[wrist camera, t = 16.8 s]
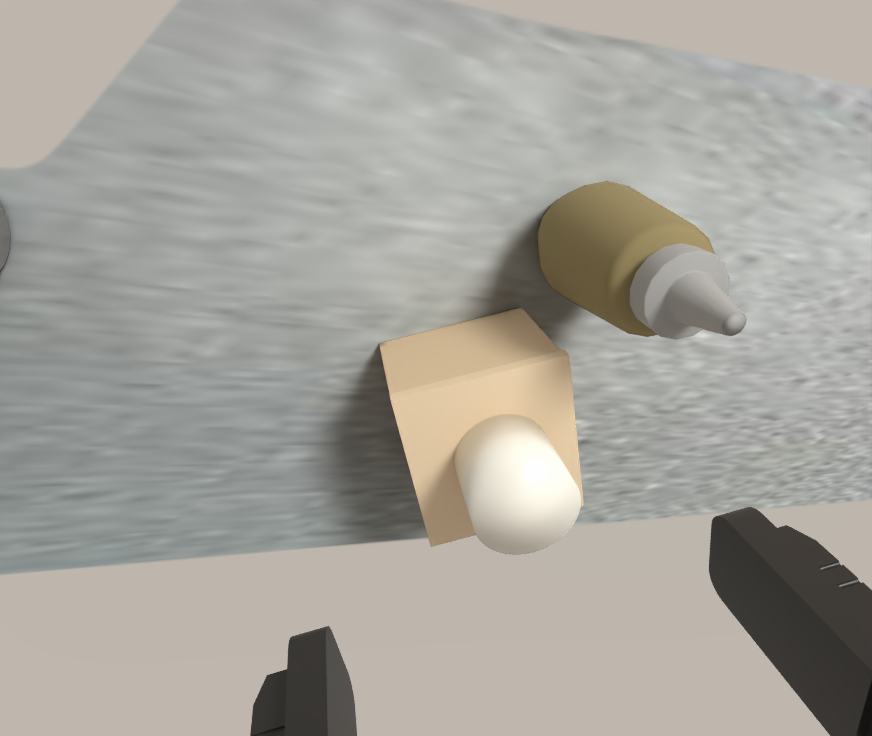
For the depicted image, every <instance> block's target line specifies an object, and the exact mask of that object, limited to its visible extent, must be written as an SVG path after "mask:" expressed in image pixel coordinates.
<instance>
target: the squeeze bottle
mask: <svg viewBox="0 0 872 736" xmlns="http://www.w3.org/2000/svg"><path fill="white" fill-rule="evenodd" d="M538 247H539V258H540V268H541V270H542V272H543V274H544V276H545V278H546V280H547V281H548V283H549V285H550V287H551V288H553V289H554V290H555V291H557V292H558V293H560V294H561V295H562V296H564V297H565V298H566V299H568V300H570V301H572V302H573V303H575V304H577V305H579V306H580V307H582V308H584V309H586V310H588V311H589V312H591V313H593V314H595V315H596V316H598V317H600V318H602V319H604V320H605V321H607V322H609V323H611V324H612V325H614V326H616V327H618V328H620V329H621V330H623V331H625V332H627V333H629V334H635V335H640V336H646V337H649V336H654V335H659V336H661V337H665V338H671V339H680V338H685V337H689V336H693V335H695V334H696V333H698V332H699V331H701V330H703V329H705V330H708V331H712V332H716V333H720V334H723V335H728V336H733V335H736V334H738V333H739V332H741V330H742V329H743V328H744V326H745V324H746V316H745V314H744V313H743V312H742V311H741V310H740V309H739V308H738V307H737V306H736V305H735V304H734V303H733V302H732V301H731V300H730V299H729V297H728V293H729V282H730V278H729V275H728V272H727V269H726V266H725V264H724V263H723V262H722V261H721V260H720V259H719V258H718V257H717V256H715V254H714V251H713V248H712V246H711V243H710V240H709V238H708V237H707V236H706V235H705V234H704V233H702V232H701V231H700V230H699V229H698V228H697V227H696V226H695V225H693V224H692V223H690V222H688V221H687V220H685V219H683V218H681V217H680V216H678V215H676V214H675V213H673V212H671V211H670V210H668V209H666V208H665V207H663V206H661V205H659V204H658V203H656V202H654V201H653V200H651V199H649V198H648V197H646V196H644V195H642V194H641V193H639V192H637V191H636V190H634V189H632V188H631V187H629V186H625V185H621V184H617V183H613V182H609V181H605V182H600V183H595V184H590V185H585V186H582V187H580V188H578V189H576V190H574V191H572V192H570V193H568V194H566V195H564V196H563V197H561V198H560V199H558V200H557V201H555V202H554V203H552V205H551V206H550V208H549V209H548V210H547V212H546V213H545V214H544V216H543V217H542V220H541V223H540V227H539V230H538Z"/></svg>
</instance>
